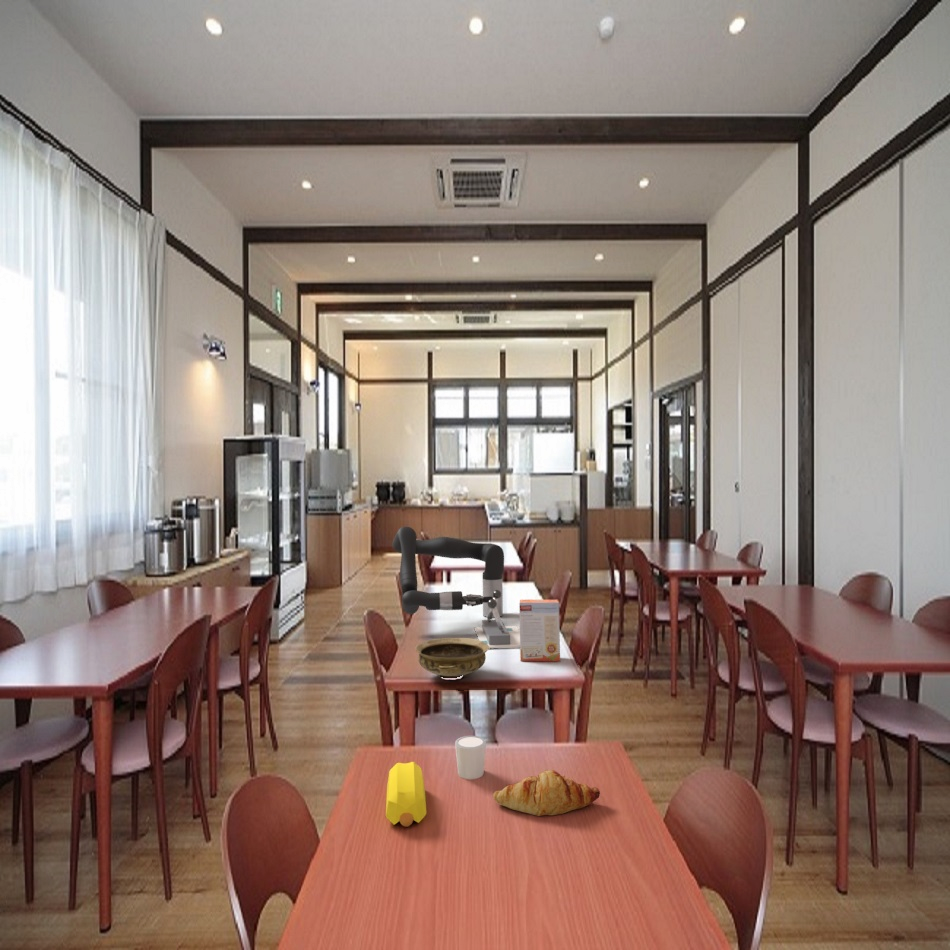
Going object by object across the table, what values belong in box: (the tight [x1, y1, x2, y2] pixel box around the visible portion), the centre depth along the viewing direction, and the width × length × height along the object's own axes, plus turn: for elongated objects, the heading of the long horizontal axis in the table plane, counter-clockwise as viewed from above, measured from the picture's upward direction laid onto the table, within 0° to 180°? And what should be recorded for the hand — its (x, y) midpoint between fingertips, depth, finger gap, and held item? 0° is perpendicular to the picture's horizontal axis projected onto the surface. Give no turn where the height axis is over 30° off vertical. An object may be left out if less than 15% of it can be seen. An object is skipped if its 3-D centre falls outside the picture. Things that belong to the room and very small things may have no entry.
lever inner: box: [486, 590, 501, 622], centre depth 260 cm, size 4×4×13 cm
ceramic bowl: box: [414, 637, 490, 678], centre depth 204 cm, size 30×24×10 cm
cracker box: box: [519, 599, 561, 662], centre depth 222 cm, size 14×6×21 cm, turn 84°
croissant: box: [493, 769, 601, 817], centre depth 125 cm, size 21×10×8 cm, turn 90°
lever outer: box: [488, 599, 505, 633], centre depth 242 cm, size 4×4×13 cm
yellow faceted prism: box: [385, 761, 428, 827], centre depth 125 cm, size 18×7×8 cm
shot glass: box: [454, 735, 487, 780], centre depth 139 cm, size 7×7×7 cm
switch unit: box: [474, 619, 520, 650], centre depth 251 cm, size 30×18×4 cm, turn 6°
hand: (492, 599), depth 260 cm, fingers closed
